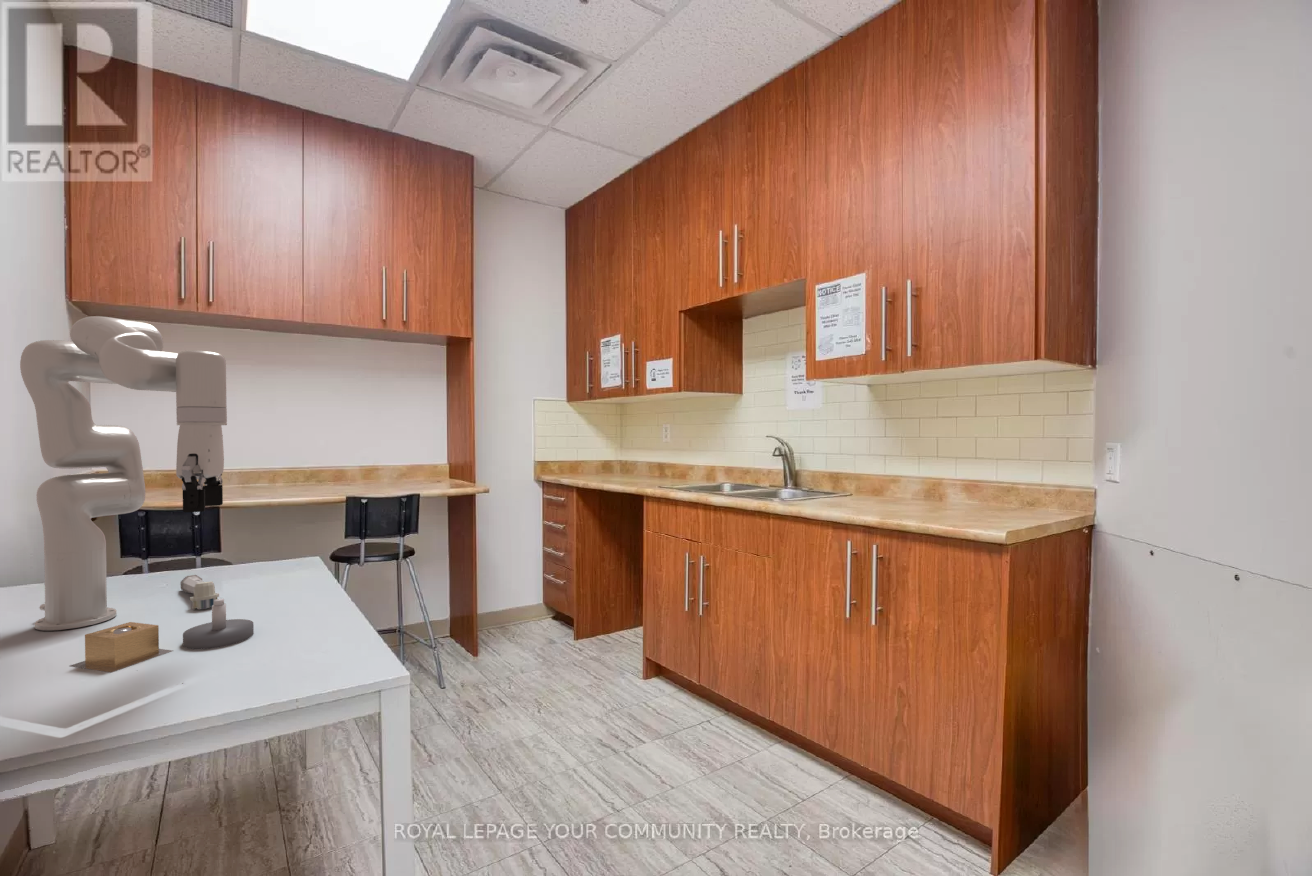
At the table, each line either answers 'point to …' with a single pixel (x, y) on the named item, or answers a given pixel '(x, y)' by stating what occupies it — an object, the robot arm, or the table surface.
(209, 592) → the toothbrush head
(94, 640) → the collar
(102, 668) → the stand
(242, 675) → the table surface
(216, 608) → the hub
